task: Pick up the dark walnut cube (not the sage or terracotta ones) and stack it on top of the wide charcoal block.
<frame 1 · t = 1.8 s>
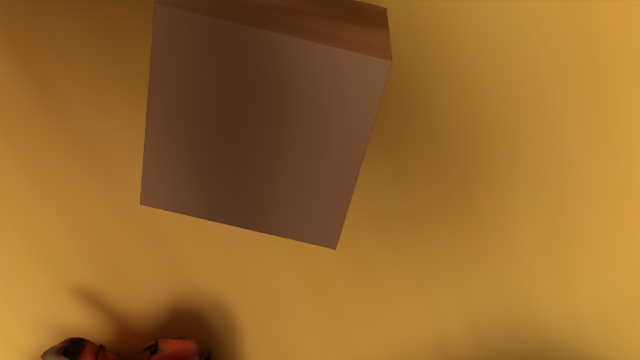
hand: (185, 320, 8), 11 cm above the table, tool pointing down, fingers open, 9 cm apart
walnut cube: (284, 69, 17), on the table
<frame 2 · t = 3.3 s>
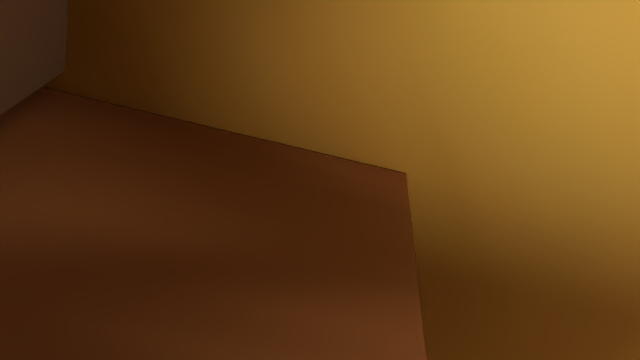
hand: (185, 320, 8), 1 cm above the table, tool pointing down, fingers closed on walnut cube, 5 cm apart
walnut cube: (204, 272, 9), on the table, touching gripper
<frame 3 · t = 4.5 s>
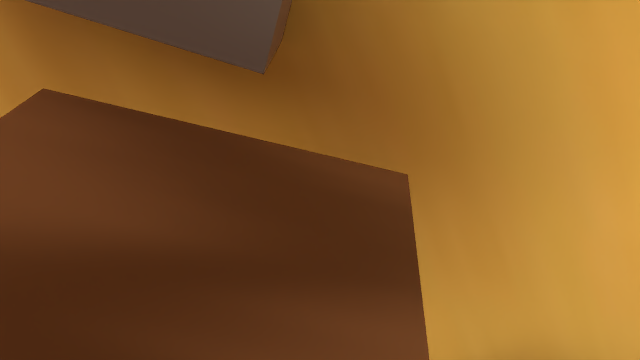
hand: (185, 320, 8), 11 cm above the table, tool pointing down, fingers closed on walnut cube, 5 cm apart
walnut cube: (206, 273, 9), point 10 cm above the table, touching gripper
when the fingers open (6 cm above the table, at t = 6.1 s): walnut cube drops 2 cm, resting on charcoal block.
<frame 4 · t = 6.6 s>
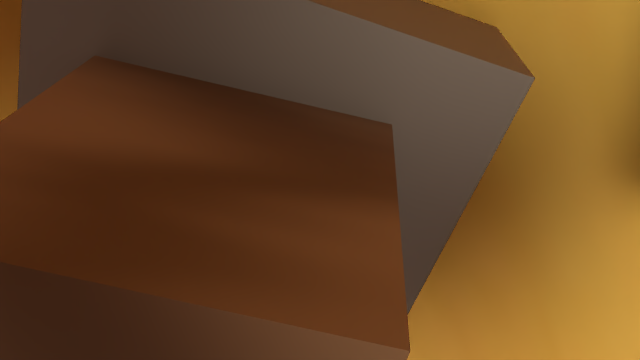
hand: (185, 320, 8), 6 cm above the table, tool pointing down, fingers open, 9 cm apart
charcoal block: (262, 128, 13), on the table, touching walnut cube
walnut cube: (225, 213, 11), point 3 cm above the table, touching charcoal block
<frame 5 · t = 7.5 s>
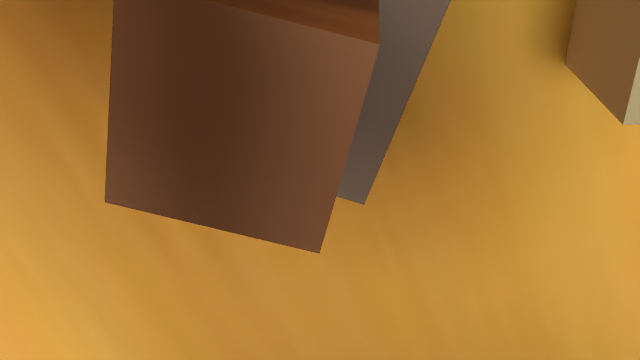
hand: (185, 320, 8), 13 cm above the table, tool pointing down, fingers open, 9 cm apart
charcoal block: (292, 19, 19), on the table
walnut cube: (268, 58, 16), point 3 cm above the table
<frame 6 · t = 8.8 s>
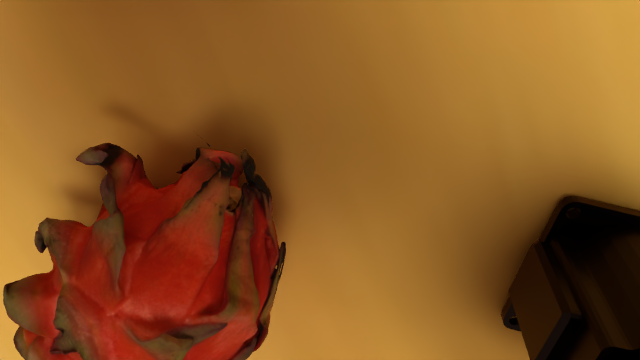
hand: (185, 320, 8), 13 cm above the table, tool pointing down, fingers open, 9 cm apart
dragon fruit: (187, 217, 23), on the table
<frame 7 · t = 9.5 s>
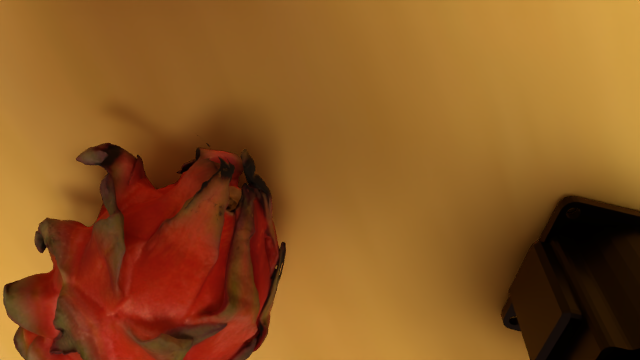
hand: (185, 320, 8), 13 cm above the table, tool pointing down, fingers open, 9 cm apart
dragon fruit: (187, 217, 23), on the table
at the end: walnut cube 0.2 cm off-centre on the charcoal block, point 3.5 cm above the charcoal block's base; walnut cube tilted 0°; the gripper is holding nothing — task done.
